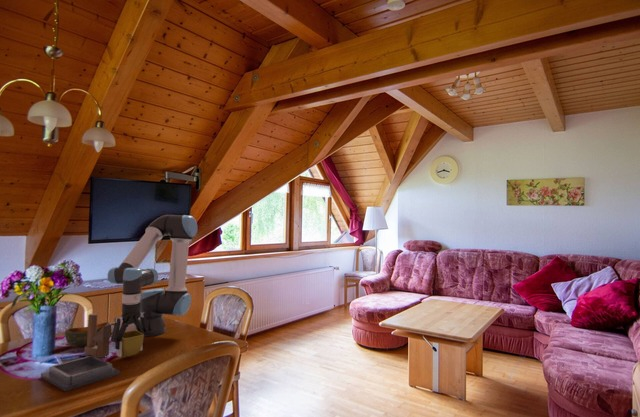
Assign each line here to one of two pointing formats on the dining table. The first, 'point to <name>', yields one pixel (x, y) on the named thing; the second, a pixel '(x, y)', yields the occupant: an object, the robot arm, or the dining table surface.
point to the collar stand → (79, 372)
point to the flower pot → (131, 342)
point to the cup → (82, 335)
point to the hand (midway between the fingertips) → (129, 352)
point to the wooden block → (97, 338)
